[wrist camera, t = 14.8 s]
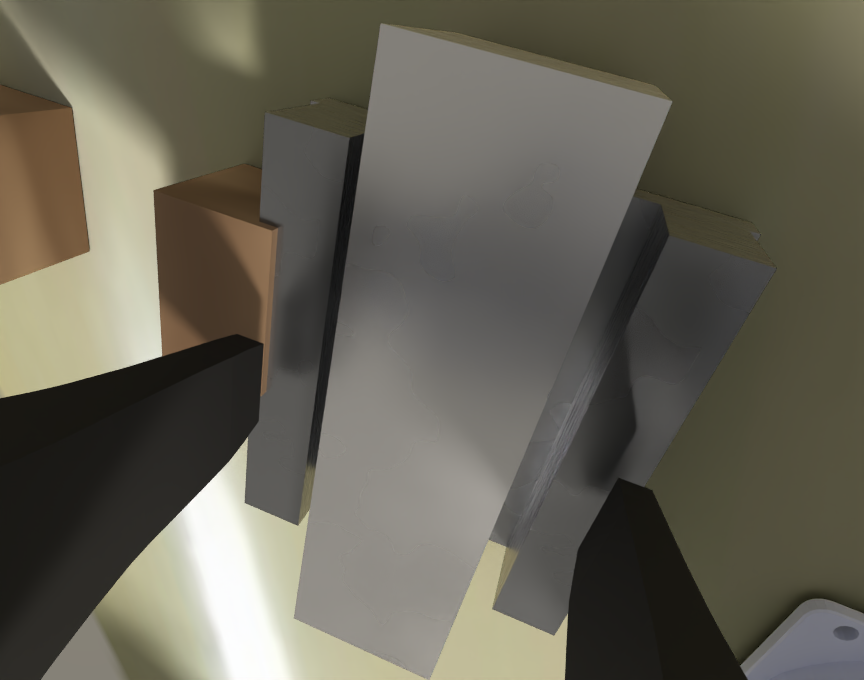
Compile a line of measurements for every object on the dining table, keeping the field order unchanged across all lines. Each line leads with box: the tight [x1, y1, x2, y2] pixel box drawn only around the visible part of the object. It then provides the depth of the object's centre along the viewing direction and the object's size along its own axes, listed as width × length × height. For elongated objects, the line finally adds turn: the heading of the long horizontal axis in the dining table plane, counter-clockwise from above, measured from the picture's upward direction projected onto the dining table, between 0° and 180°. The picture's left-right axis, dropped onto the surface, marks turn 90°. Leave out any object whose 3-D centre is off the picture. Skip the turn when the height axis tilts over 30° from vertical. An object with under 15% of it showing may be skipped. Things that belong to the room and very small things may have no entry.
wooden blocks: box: [0, 85, 278, 396], centre depth 13 cm, size 10×4×3 cm, turn 77°
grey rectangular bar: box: [294, 23, 673, 680], centre depth 11 cm, size 4×13×4 cm, turn 167°
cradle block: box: [245, 98, 777, 635], centre depth 12 cm, size 9×10×3 cm
